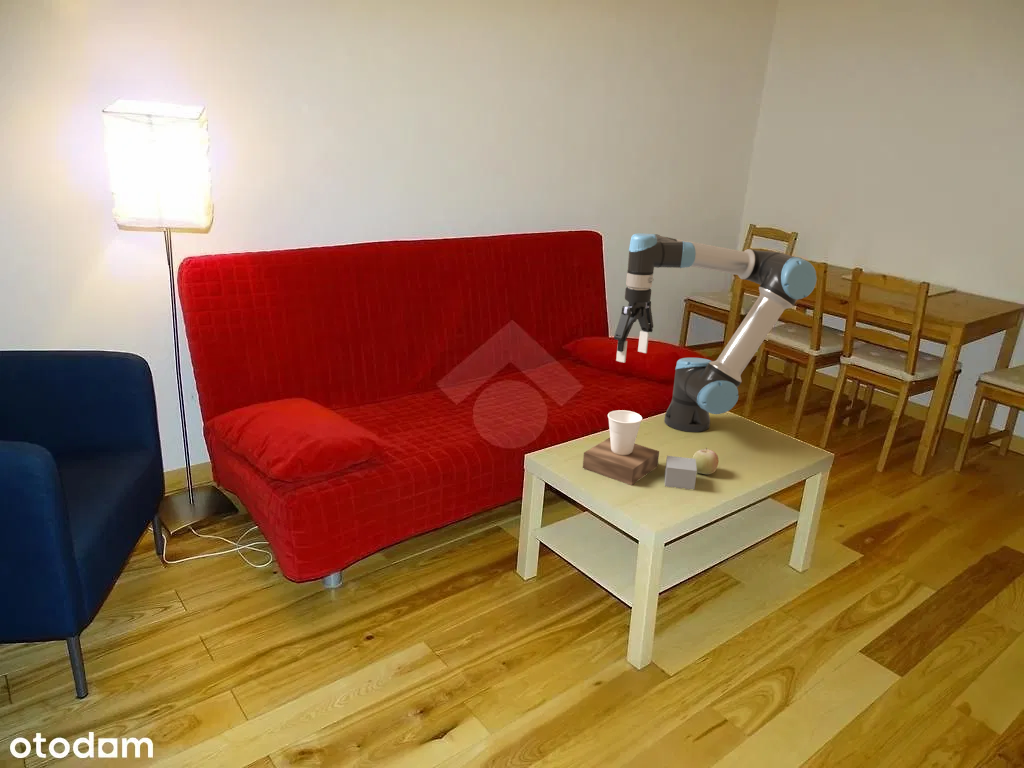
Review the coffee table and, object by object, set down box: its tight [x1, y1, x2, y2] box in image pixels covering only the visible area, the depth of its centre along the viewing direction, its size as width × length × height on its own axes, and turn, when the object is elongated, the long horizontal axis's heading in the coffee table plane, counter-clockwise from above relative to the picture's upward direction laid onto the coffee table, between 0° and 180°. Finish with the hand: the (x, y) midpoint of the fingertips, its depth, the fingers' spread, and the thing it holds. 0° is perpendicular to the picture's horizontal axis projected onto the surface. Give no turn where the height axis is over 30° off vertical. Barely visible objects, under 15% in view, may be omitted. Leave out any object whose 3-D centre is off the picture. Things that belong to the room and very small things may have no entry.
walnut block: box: [582, 437, 660, 486], centre depth 208 cm, size 16×16×5 cm
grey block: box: [664, 455, 698, 490], centre depth 201 cm, size 8×8×6 cm
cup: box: [607, 409, 643, 455], centre depth 206 cm, size 10×10×11 cm
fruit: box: [691, 447, 719, 475], centre depth 207 cm, size 8×7×8 cm
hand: (631, 356), depth 217 cm, fingers open, 13 cm apart
